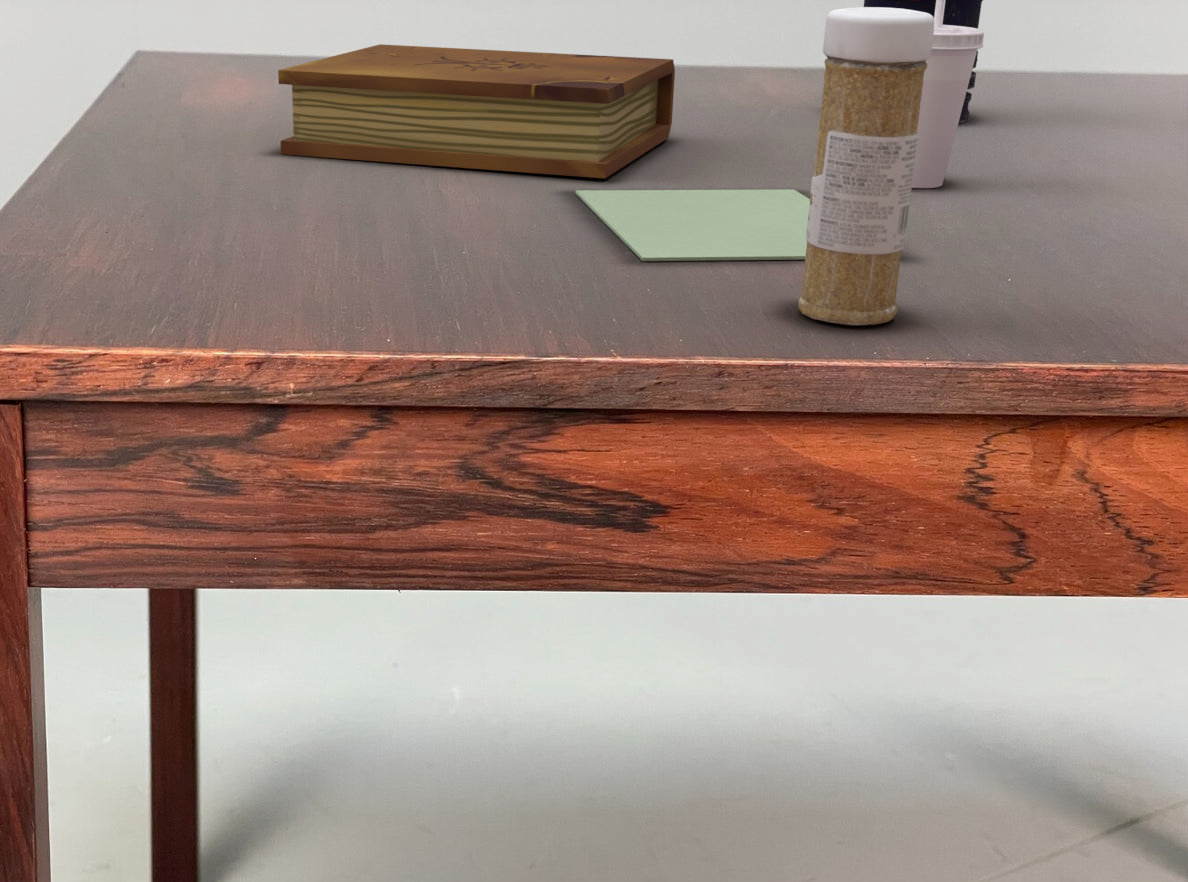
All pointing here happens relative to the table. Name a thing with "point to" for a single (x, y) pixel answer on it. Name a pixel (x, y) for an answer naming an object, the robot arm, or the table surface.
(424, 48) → the diary
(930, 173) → the smoothie
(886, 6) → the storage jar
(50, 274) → the table surface
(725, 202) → the mat
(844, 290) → the sprinkles bottle
